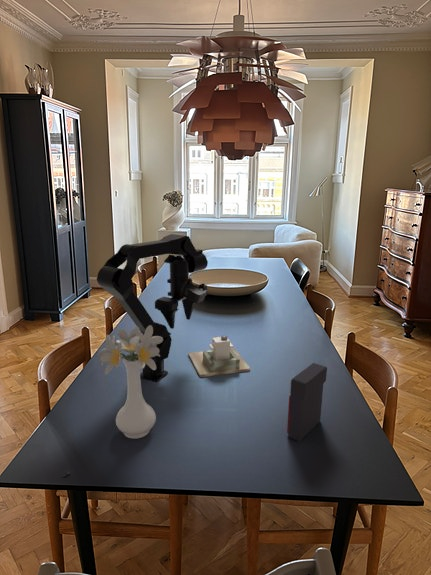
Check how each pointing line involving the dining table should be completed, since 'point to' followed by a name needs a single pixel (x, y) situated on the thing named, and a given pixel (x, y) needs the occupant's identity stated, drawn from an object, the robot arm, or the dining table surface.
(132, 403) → the flower vase
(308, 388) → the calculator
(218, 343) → the block
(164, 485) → the dining table surface
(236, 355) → the plate
